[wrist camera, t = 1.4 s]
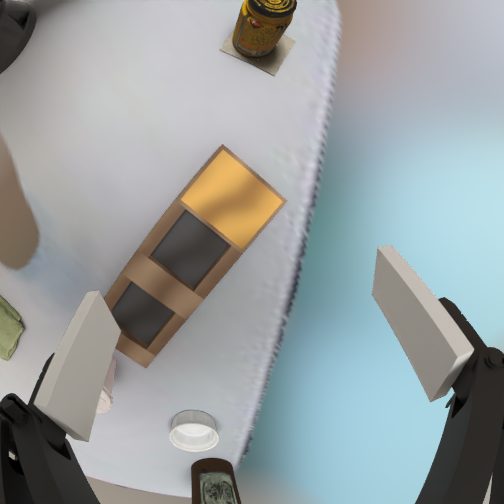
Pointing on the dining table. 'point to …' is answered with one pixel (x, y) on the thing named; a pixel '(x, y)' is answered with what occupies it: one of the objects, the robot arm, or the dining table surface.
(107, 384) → the smoothie
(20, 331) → the washcloth
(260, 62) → the condiment
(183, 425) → the ramekin
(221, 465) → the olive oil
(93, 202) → the dining table surface
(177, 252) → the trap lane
